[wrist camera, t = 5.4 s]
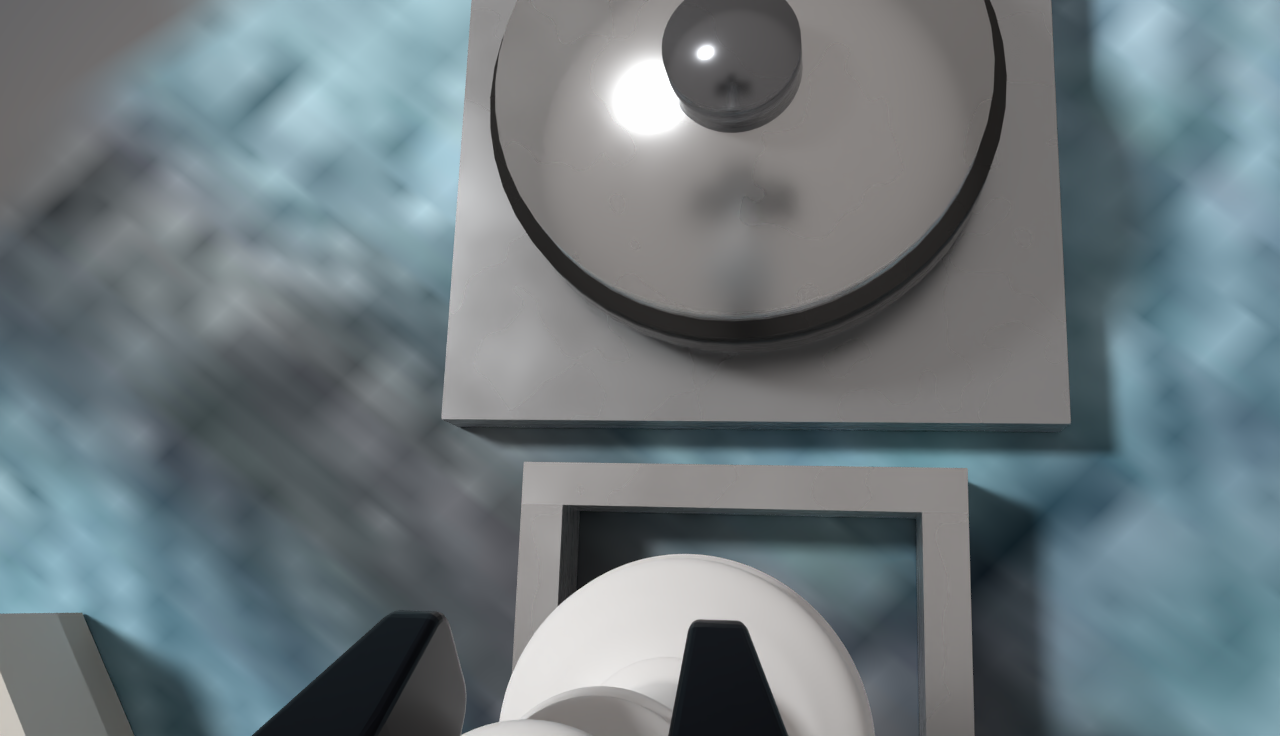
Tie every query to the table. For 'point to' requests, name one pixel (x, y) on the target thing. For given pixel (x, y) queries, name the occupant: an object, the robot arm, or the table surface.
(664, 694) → the chess piece
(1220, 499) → the table surface
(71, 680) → the tray
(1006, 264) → the bracket
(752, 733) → the robot arm
